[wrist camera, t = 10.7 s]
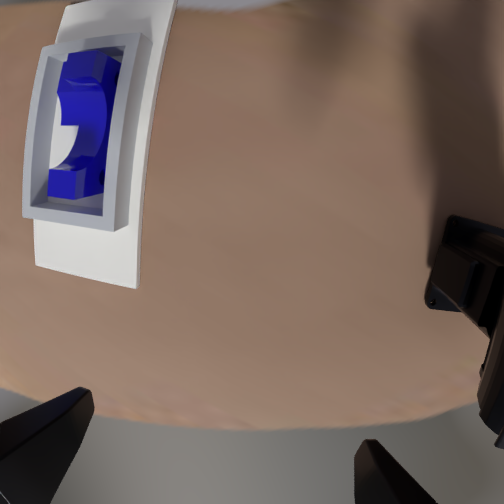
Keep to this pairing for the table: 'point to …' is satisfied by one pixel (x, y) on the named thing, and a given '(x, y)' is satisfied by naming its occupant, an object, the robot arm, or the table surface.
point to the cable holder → (85, 123)
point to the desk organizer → (119, 146)
